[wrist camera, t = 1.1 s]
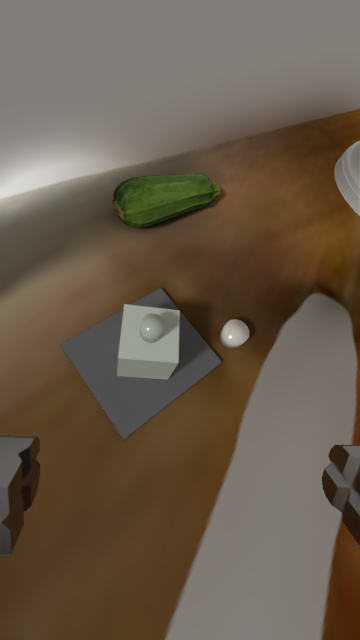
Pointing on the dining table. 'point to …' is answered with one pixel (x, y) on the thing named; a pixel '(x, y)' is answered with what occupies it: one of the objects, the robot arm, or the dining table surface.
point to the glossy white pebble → (234, 334)
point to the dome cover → (349, 176)
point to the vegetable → (162, 197)
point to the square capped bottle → (148, 342)
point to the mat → (132, 392)
